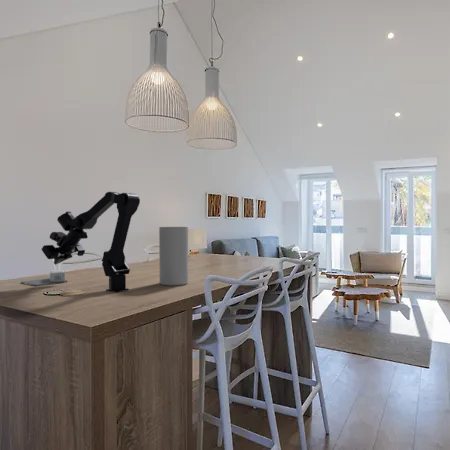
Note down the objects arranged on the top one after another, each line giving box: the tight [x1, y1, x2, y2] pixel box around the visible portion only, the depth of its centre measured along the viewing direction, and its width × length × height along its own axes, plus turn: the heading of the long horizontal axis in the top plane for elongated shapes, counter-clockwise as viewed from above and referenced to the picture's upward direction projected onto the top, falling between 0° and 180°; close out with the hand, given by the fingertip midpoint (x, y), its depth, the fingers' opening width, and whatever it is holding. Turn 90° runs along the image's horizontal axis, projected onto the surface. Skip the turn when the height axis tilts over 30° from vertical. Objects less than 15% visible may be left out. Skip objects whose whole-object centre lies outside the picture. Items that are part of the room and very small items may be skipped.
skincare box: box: [49, 269, 66, 282], centre depth 171 cm, size 6×4×12 cm
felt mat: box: [22, 277, 68, 287], centre depth 168 cm, size 14×14×1 cm
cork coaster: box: [59, 290, 86, 297], centre depth 142 cm, size 9×9×1 cm
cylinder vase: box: [158, 226, 189, 287], centre depth 164 cm, size 12×12×25 cm
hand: (55, 263), depth 163 cm, fingers closed
